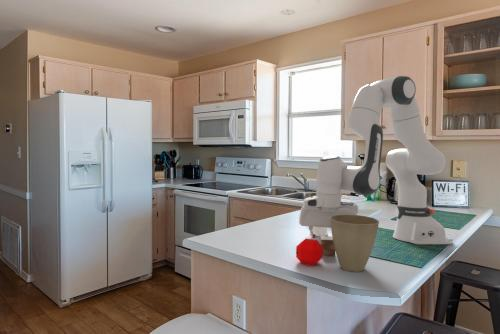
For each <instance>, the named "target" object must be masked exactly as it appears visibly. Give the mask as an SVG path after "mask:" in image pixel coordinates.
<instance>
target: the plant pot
mask: <svg viewBox="0 0 500 334" xmlns="http://www.w3.org/2000/svg"><path fill="white" fill-rule="evenodd" d="M330 221H331V228H330V230H331V237H333V242H334V247H335V256H336V258H337V260H338V264H339V266H340V268H341V269H342V270H344V271H348V272H363V271H364V270H365V268H366V265H367V264H368V261H369V260H370V256H371V254H372V250H373V249H374V245H375V242H376V239H377V233H378V229H379V224H380V220H378V219H376V218H374V217H371V216H366V215H360V214H356V215H334V216H331V217H330Z"/></svg>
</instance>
